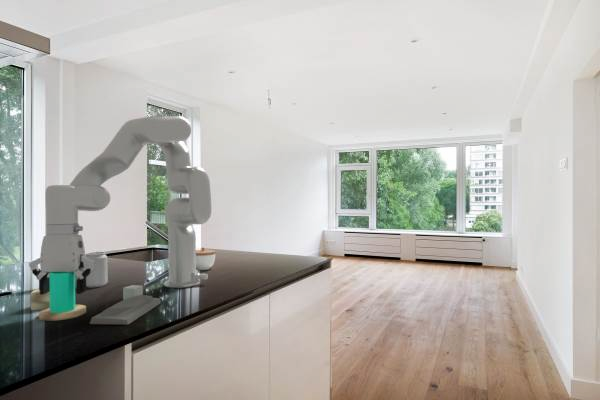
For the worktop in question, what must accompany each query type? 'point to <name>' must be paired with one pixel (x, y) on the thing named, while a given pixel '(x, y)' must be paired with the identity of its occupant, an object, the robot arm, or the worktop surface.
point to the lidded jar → (204, 259)
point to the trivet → (62, 314)
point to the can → (97, 270)
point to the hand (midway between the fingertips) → (62, 293)
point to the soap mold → (126, 310)
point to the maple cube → (40, 300)
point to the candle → (62, 292)
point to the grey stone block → (132, 291)
